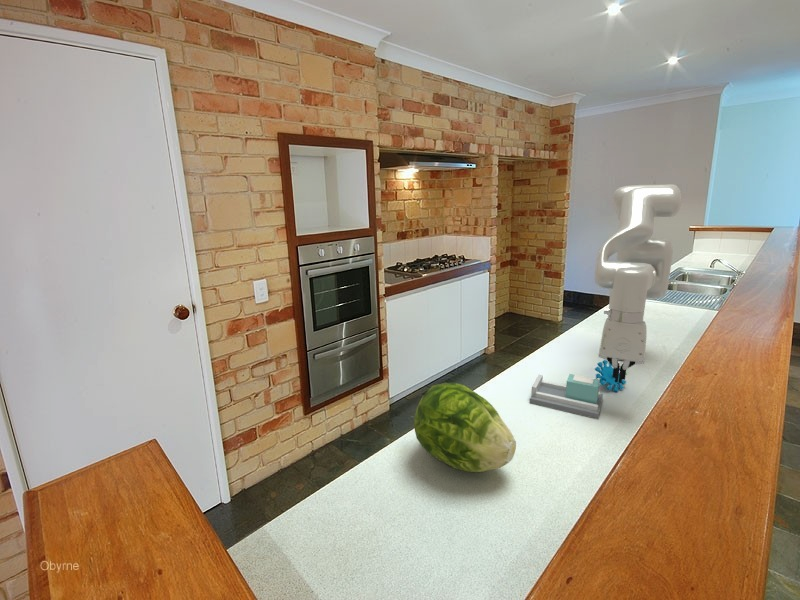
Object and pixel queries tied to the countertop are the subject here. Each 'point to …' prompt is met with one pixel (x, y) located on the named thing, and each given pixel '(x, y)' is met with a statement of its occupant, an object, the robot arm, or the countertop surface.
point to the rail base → (562, 399)
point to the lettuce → (462, 429)
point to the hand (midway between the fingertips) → (618, 380)
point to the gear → (608, 376)
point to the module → (582, 388)
